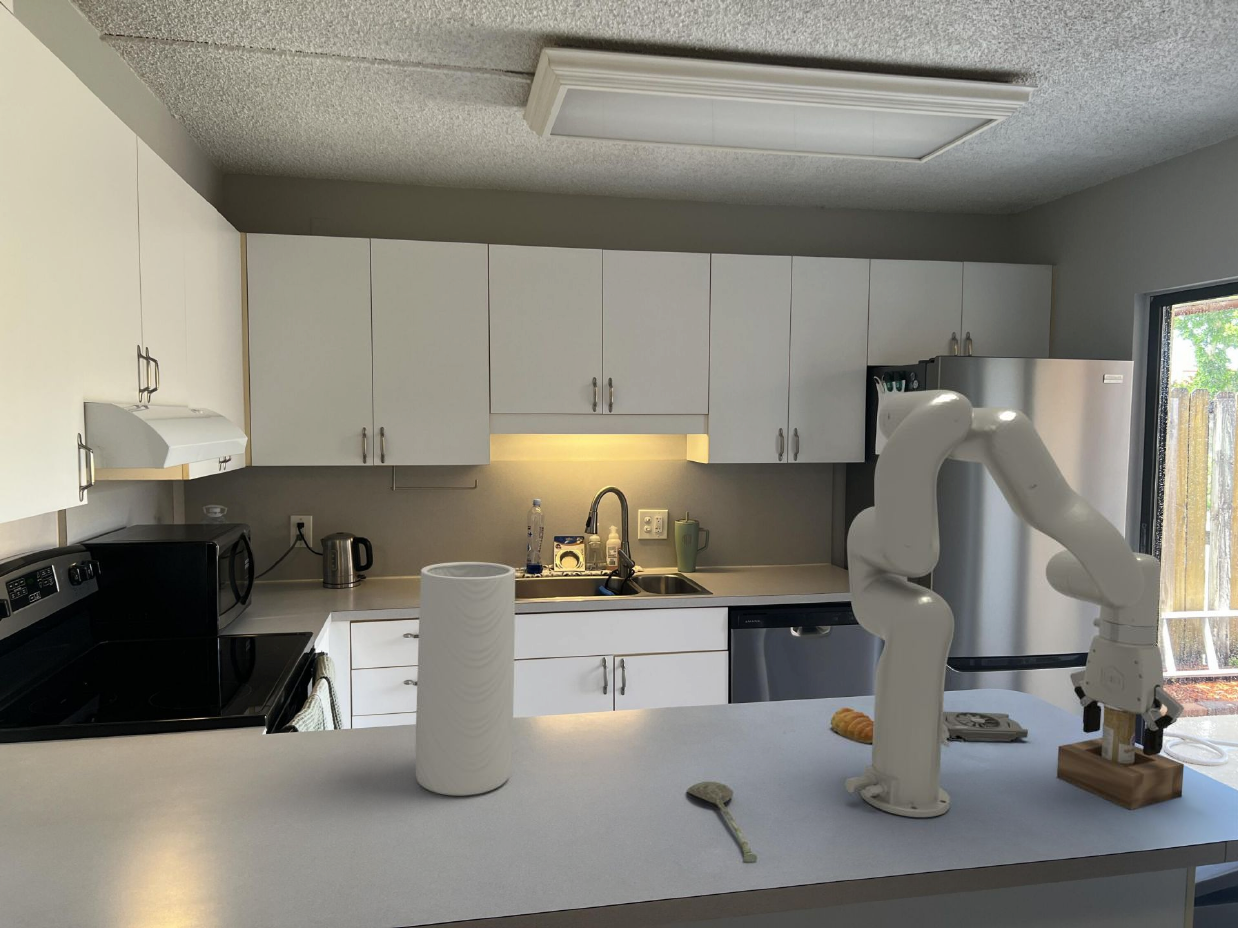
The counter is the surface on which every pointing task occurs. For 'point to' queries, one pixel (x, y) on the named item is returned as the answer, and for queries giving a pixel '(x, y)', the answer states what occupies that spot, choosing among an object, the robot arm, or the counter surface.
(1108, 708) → the sprinkles bottle
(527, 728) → the counter surface
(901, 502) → the robot arm
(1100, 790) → the walnut holder
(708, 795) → the soupspoon
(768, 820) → the counter surface
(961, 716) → the graphics card
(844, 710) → the pastry
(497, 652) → the vase
